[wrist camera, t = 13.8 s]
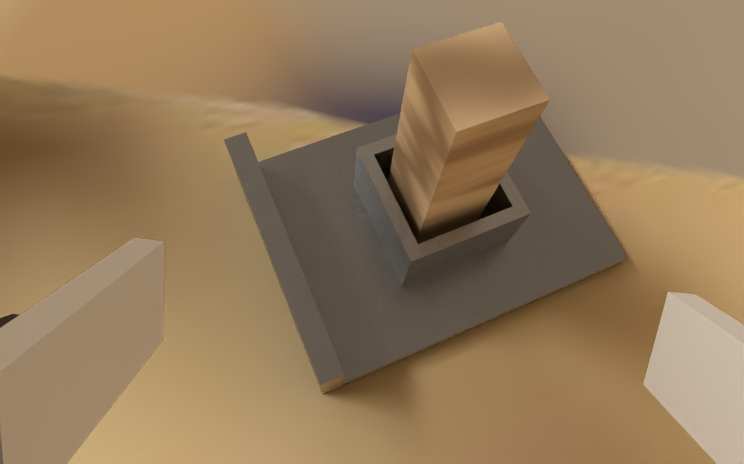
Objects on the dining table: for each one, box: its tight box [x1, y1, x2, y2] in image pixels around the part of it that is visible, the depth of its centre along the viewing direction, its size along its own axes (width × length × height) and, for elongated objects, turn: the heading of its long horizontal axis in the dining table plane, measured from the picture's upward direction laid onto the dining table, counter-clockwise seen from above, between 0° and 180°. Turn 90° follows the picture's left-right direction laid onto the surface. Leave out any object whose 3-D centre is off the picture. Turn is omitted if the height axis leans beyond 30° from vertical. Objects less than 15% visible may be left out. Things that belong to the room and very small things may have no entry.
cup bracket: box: [224, 114, 628, 394], centre depth 36 cm, size 16×22×6 cm
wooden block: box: [388, 22, 550, 244], centre depth 31 cm, size 4×4×15 cm
